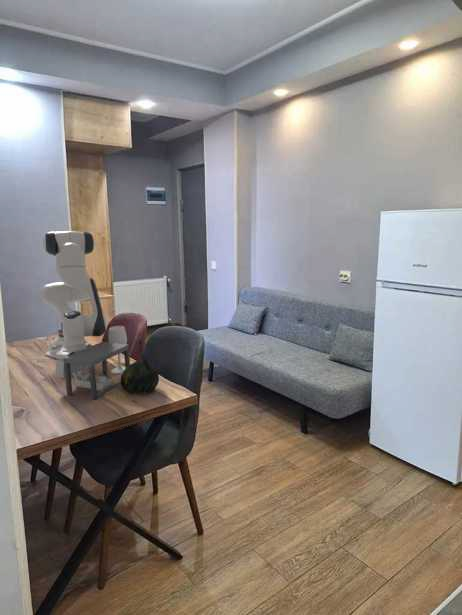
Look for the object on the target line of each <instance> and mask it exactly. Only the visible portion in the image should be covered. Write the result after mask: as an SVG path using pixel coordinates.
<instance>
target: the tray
mask: <svg viewBox="0 0 462 615" xmlns="http://www.w3.org/2000/svg"><path fill="white" fill-rule="evenodd" d="M80 375H81V377H80V378H78V379H76V380H74V382H75V387H78V388H84V389H90V390H91V384H90V374H89V373H87V372H83V373H82V374H80ZM111 385H113V383H112V378H107V377H106V376H103V375H100V376H96V387H97V391H99V392H101V391H103V390H104V389H106V388H108V387H110V386H111Z"/></svg>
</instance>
